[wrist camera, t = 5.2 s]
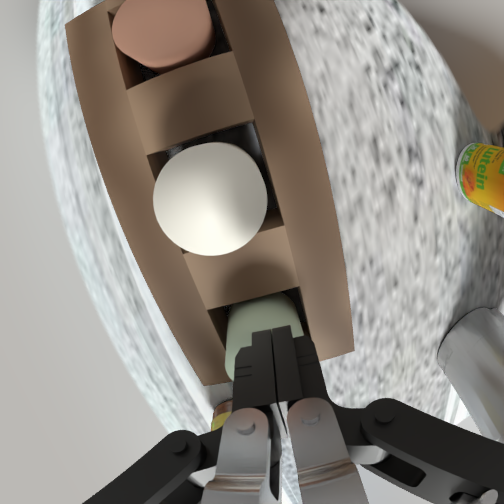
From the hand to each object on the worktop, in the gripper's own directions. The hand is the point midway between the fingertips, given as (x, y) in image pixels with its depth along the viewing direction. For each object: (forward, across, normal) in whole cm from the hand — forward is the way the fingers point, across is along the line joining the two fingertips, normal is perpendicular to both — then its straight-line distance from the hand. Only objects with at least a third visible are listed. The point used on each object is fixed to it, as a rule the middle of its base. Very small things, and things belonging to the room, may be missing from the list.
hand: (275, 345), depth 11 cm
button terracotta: (+10, +2, -15) cm, 18 cm away
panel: (+10, +2, -5) cm, 12 cm away
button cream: (+8, +2, -5) cm, 10 cm away
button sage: (+8, +1, +5) cm, 10 cm away
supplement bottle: (+11, -19, -2) cm, 23 cm away
